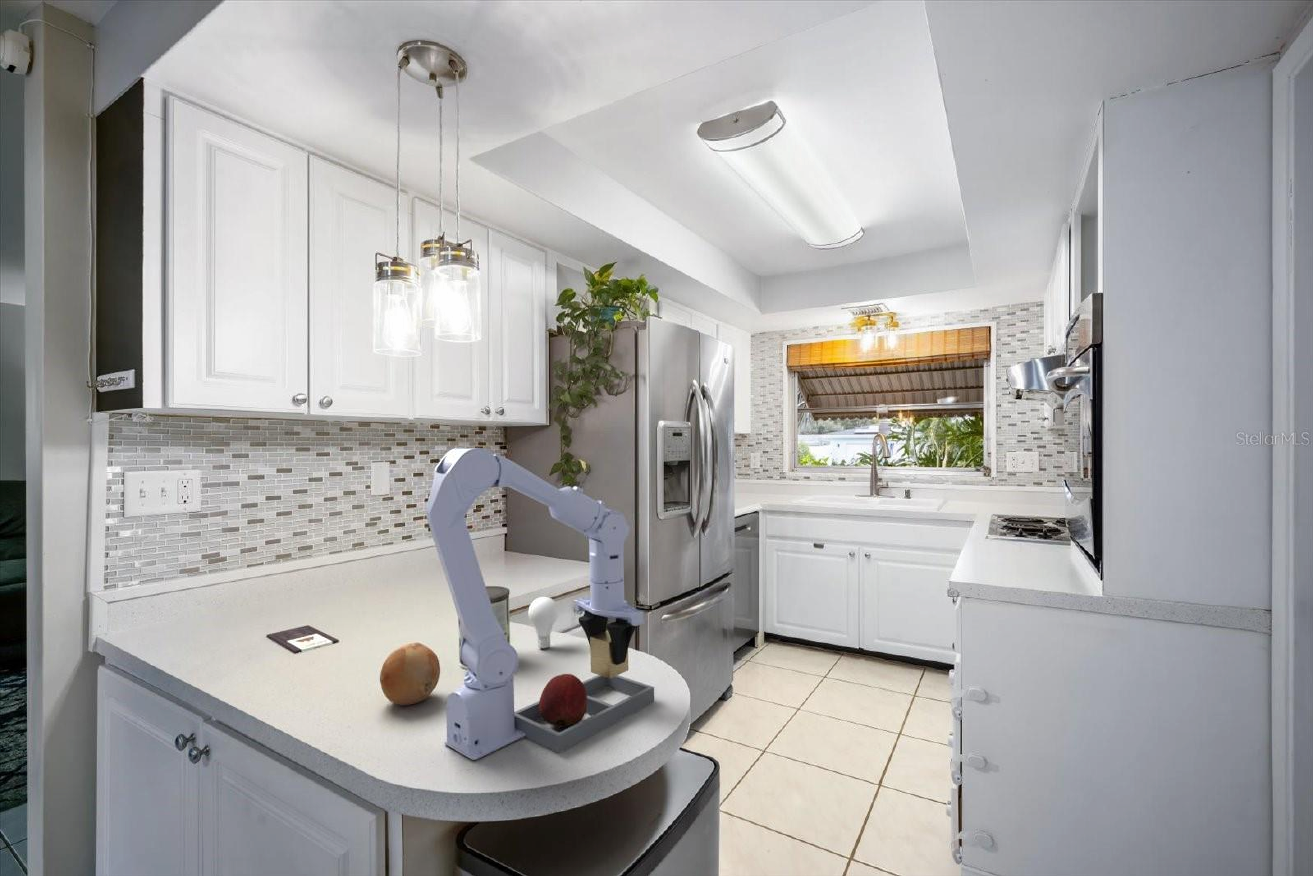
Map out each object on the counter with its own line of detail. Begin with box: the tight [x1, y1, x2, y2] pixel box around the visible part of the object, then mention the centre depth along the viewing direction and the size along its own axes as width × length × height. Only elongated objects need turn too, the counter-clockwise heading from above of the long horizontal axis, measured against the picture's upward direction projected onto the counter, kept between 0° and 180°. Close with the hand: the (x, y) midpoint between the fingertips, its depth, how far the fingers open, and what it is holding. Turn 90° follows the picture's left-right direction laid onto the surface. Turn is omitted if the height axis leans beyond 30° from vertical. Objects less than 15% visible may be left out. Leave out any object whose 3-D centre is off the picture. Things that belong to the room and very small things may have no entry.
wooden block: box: [589, 629, 629, 679], centre depth 103 cm, size 4×4×6 cm
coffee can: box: [457, 585, 511, 670], centre depth 124 cm, size 10×10×14 cm
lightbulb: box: [527, 596, 559, 650], centre depth 131 cm, size 6×6×11 cm
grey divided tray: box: [514, 674, 655, 754], centre depth 99 cm, size 21×11×2 cm, turn 140°
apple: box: [539, 673, 587, 731], centre depth 95 cm, size 7×8×8 cm
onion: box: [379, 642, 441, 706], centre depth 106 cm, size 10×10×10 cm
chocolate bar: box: [265, 624, 340, 655], centre depth 140 cm, size 9×1×18 cm
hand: (609, 659), depth 103 cm, fingers closed on wooden block, 4 cm apart
